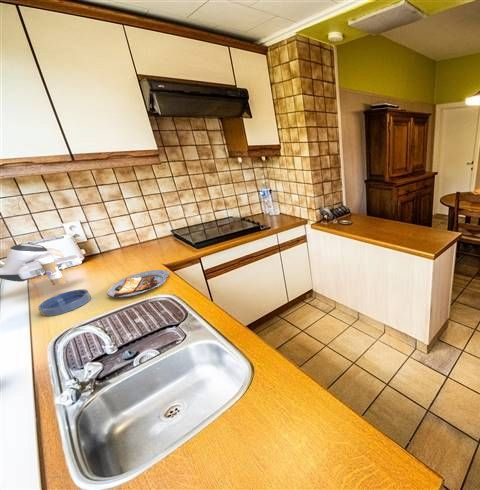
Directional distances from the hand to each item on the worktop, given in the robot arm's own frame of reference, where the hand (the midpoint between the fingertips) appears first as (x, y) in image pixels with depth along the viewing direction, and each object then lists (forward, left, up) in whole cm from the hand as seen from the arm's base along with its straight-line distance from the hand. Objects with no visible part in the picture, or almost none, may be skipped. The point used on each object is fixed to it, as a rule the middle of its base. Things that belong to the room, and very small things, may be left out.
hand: (52, 271), depth 124 cm
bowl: (0, -14, -13) cm, 19 cm away
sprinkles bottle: (0, +1, -7) cm, 7 cm away
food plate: (+26, -22, -13) cm, 36 cm away
